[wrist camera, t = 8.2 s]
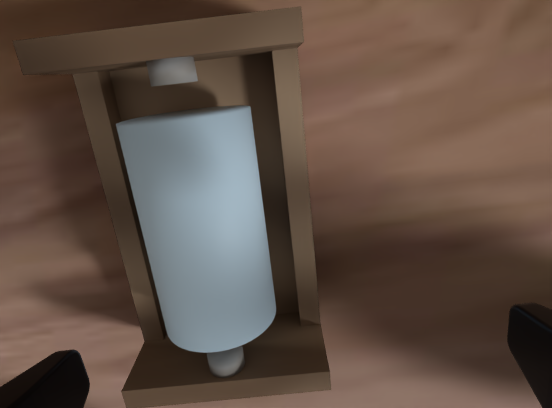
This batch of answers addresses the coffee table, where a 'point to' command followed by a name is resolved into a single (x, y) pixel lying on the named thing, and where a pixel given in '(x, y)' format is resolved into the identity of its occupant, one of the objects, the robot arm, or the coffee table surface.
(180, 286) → the roll
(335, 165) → the coffee table surface
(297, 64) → the holder
